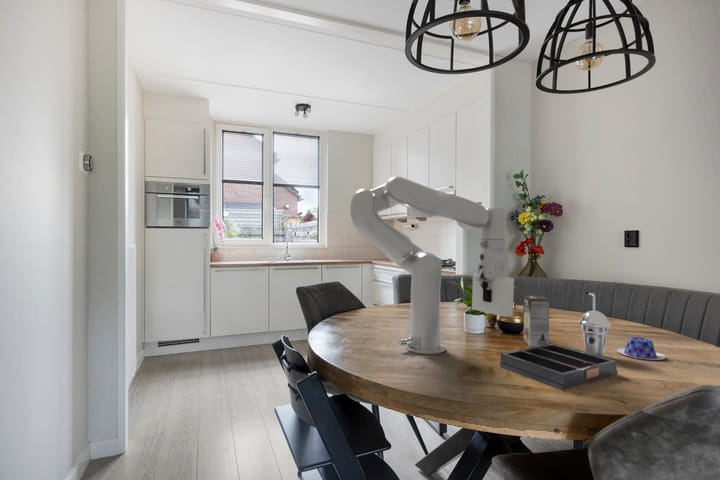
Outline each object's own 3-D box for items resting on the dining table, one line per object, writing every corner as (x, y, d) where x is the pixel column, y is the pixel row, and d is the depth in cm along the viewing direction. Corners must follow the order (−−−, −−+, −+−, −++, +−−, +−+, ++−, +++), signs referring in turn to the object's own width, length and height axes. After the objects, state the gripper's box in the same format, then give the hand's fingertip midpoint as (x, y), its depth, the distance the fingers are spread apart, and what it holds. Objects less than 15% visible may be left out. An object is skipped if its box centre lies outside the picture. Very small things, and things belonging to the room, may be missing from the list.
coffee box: (522, 339, 130) (522, 294, 130) (542, 340, 128) (542, 295, 128) (529, 346, 121) (529, 298, 121) (550, 348, 119) (550, 299, 119)
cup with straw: (618, 359, 108) (618, 292, 108) (593, 361, 106) (592, 293, 106) (594, 350, 116) (594, 288, 116) (570, 352, 114) (570, 289, 114)
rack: (563, 390, 85) (563, 375, 85) (499, 366, 101) (499, 353, 102) (619, 374, 95) (618, 361, 95) (552, 354, 112) (552, 343, 112)
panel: (505, 317, 111) (505, 278, 111) (471, 309, 124) (472, 273, 124) (512, 316, 113) (513, 277, 113) (479, 308, 125) (480, 273, 125)
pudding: (612, 355, 112) (612, 338, 112) (621, 348, 121) (621, 332, 121) (663, 365, 104) (662, 346, 104) (668, 356, 112) (668, 339, 112)
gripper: (483, 244, 111) (481, 304, 111) (520, 246, 119) (518, 301, 119) (465, 244, 118) (464, 300, 118) (501, 245, 125) (500, 298, 125)
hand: (491, 300), depth 118 cm, fingers closed on panel, 3 cm apart
